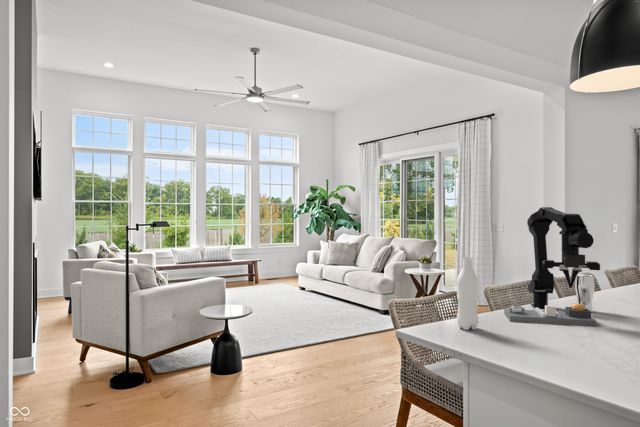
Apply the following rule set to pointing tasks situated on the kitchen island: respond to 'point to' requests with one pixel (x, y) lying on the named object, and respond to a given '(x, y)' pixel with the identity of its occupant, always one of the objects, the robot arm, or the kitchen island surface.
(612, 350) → the kitchen island surface
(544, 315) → the panel
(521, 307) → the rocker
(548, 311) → the cream rectangular brick
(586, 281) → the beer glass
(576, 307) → the button
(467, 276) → the water bottle
